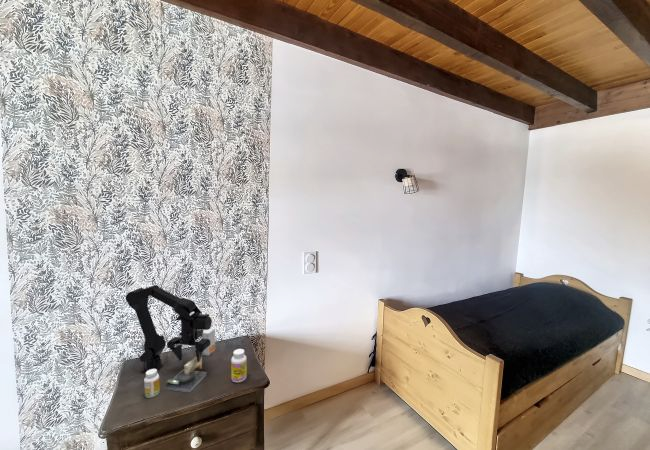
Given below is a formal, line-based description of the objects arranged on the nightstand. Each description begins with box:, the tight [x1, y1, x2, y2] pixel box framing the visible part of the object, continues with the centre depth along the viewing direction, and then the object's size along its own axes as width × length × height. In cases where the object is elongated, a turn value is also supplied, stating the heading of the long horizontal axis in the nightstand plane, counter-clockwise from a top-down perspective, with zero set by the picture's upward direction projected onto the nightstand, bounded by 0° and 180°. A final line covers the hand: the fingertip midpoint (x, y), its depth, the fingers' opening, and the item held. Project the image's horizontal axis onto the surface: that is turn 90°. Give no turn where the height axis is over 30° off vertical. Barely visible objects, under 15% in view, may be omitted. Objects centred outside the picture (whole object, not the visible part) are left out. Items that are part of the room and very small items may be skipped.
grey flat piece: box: [163, 363, 208, 393], centre depth 125 cm, size 12×17×4 cm
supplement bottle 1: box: [143, 369, 161, 399], centre depth 115 cm, size 5×5×10 cm
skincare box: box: [200, 327, 216, 356], centre depth 147 cm, size 6×4×12 cm
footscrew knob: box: [176, 355, 203, 384], centre depth 125 cm, size 12×7×6 cm, turn 164°
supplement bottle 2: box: [230, 348, 248, 384], centre depth 125 cm, size 7×7×13 cm
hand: (189, 360), depth 130 cm, fingers open, 9 cm apart
